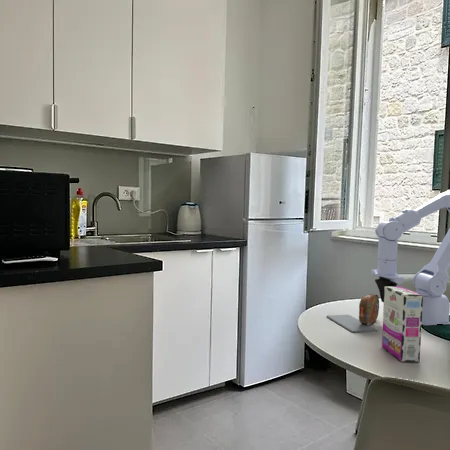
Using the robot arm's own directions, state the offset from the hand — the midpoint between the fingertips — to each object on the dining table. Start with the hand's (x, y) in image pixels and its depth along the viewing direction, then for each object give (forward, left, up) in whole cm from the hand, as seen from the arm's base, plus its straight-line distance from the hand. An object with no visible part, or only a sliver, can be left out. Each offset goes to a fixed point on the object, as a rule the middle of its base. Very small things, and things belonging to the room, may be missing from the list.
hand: (385, 301), depth 139 cm
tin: (+6, 0, -6) cm, 9 cm away
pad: (+12, 0, -6) cm, 14 cm away
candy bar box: (+13, +27, -7) cm, 31 cm away
